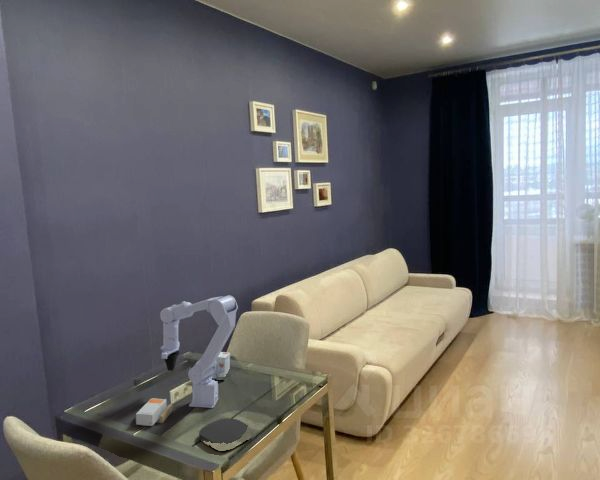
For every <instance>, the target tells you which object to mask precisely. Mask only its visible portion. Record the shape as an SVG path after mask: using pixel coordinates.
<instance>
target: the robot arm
mask: <svg viewBox="0 0 600 480" xmlns="http://www.w3.org/2000/svg"><path fill="white" fill-rule="evenodd" d="M238 309H239V306H238V303H237V300H236V299H235V297H234V296H232V295H228V294H227V295H226V296H223V295H222V296H216V297H211V298H208V299H204V300H201V301H198V302H194V303H191V302H189V301H185V300H184V301H181V302H180V304H176V303H175V304H172V305H171V306H169V307H165V308H163V309H162V310H161V311H160V314H159V319H160V320H161V321H162V323H163V324H162V326H163V329H162V331H163V333H162V335H163V337H162V339H163V341H162V342H163V345H162V346H160V350H161V351H162V352H161V355H160V356H161V357H160V358H161V360H164V361H165V366H166V369H167V371H169V372H170V371H171V372H172V371H174V370H175V369H176V368H175V367H176V362H177V359H178V356H179V354H180V343H181V342H180V341H179V324H180V320H183V319H186V318H190V317H192V316H193V315H194V313H196V312H200V311H207V313H210V314H211V316H212V318H213V319H214V321H215V323H216V324H217V326H218V327H217V328H216V330H215V333H214V334H213V336H212V338H211V339H210V342H209V344H208V345H207V347H206V348H205V350H204V352H203V355H202V356H201V358H200V359H198V360H197V362H196V363H195V364H194V365H193V367H191V368H189V369H188V373H187V375H188V379H189V381H190V382H191V384H192V400H191V402H190V403H189V405H188V407H193V408H206V409H207V408H210V409H214V408H215V406H216V404H217V403H218V400H219V383H218V382H219V381H215V380H212V375H213V374H214V373H215V367H216V364H217V362H216V359H217V357H218V356H219V354H220V352H222V350H223V349H224V347H225V345H226V343H227V341H228V340H229V338H230V336H231V334H232V332H233V331H234V329H235V327H236V317H237V311H238Z"/></svg>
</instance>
